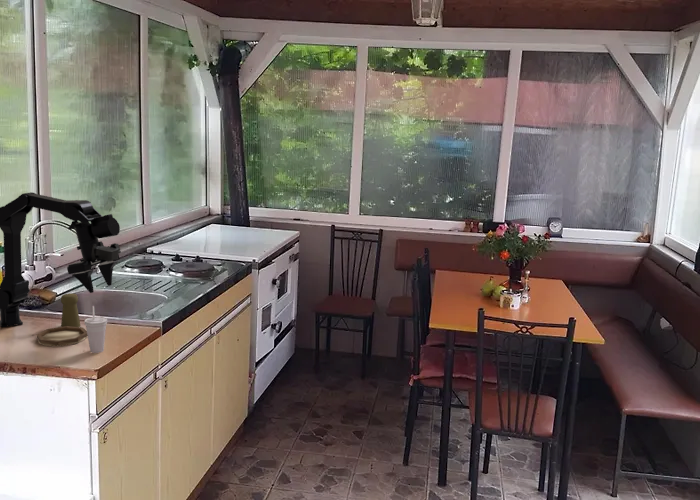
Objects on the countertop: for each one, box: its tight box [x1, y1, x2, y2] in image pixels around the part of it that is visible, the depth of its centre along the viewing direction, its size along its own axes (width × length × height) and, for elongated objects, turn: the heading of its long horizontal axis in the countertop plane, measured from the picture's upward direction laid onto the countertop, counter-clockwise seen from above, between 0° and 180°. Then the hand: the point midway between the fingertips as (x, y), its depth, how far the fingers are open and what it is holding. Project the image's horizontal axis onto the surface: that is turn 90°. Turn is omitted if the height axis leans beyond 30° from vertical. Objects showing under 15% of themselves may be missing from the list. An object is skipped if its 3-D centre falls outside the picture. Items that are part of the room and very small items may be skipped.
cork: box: [60, 293, 82, 327], centre depth 212 cm, size 6×6×11 cm
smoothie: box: [83, 305, 108, 354], centre depth 191 cm, size 6×6×14 cm
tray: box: [36, 326, 88, 347], centre depth 201 cm, size 14×14×2 cm
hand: (101, 289), depth 202 cm, fingers open, 9 cm apart
